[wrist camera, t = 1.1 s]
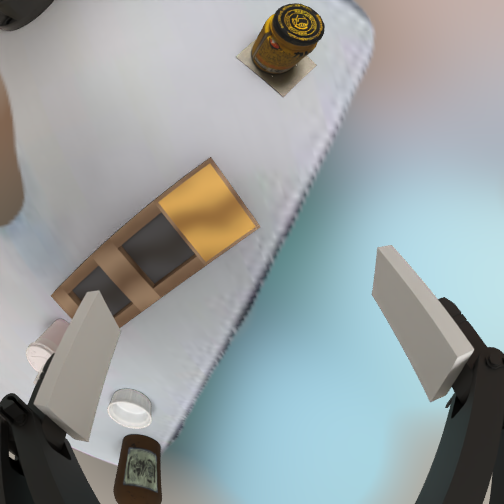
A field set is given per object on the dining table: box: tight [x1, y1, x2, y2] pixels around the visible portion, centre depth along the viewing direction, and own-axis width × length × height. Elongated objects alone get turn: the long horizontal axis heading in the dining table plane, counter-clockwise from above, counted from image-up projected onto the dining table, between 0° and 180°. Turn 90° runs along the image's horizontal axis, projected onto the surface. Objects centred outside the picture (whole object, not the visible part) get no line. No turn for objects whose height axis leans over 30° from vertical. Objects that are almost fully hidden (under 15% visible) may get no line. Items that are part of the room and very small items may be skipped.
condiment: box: [236, 4, 325, 97], centre depth 26 cm, size 7×8×12 cm
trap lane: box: [51, 157, 260, 328], centre depth 37 cm, size 11×32×2 cm, turn 125°
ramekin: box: [107, 389, 152, 429], centre depth 46 cm, size 9×9×4 cm
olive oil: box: [114, 435, 162, 504], centre depth 42 cm, size 11×11×25 cm
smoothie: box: [26, 319, 69, 385], centre depth 34 cm, size 6×6×14 cm
